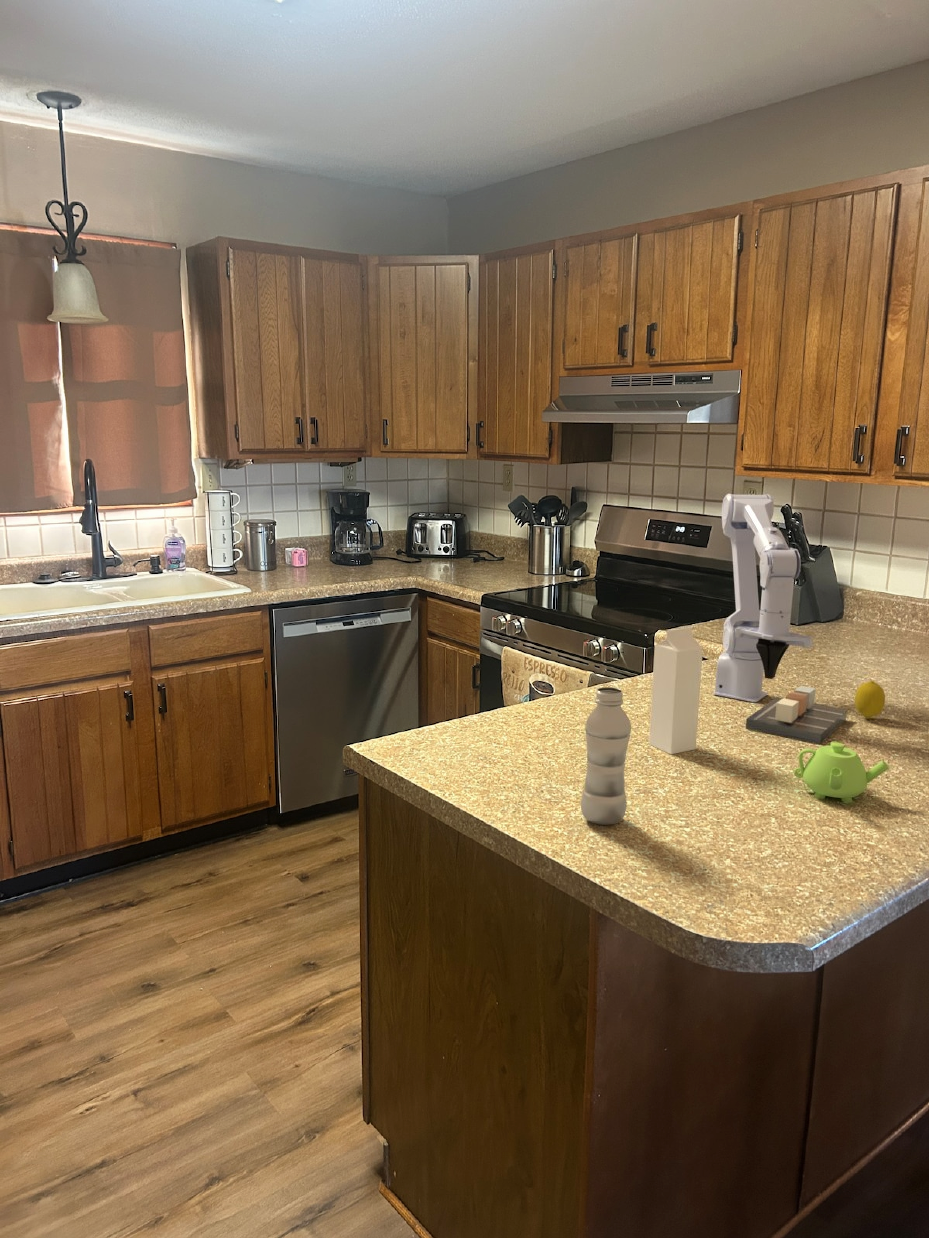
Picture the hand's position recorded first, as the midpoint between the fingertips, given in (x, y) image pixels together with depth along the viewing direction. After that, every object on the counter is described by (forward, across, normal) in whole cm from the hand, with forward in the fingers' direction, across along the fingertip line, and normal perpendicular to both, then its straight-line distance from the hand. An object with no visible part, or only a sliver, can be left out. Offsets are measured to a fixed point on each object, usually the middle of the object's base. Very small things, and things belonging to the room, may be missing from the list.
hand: (769, 677), depth 180 cm
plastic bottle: (+9, -3, -63) cm, 64 cm away
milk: (+9, -8, -27) cm, 30 cm away
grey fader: (+6, +6, +6) cm, 10 cm away
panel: (+8, +6, 0) cm, 10 cm away
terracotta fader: (+6, +6, 0) cm, 8 cm away
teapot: (+9, +22, -31) cm, 39 cm away
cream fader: (+6, +6, -5) cm, 10 cm away
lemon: (+9, +16, +13) cm, 22 cm away
